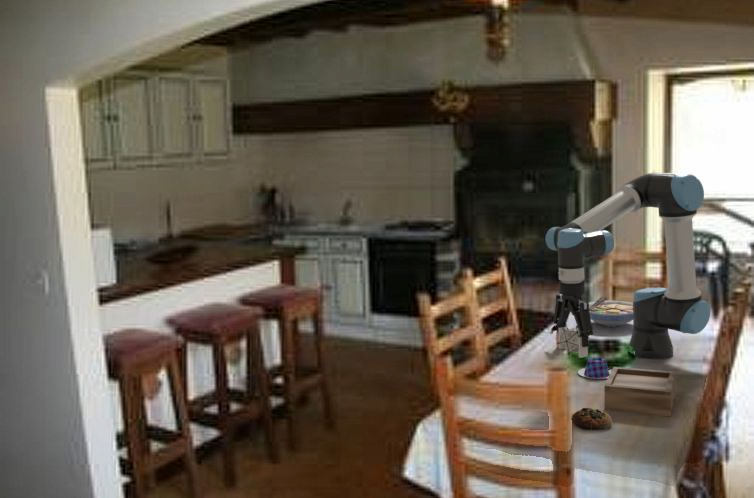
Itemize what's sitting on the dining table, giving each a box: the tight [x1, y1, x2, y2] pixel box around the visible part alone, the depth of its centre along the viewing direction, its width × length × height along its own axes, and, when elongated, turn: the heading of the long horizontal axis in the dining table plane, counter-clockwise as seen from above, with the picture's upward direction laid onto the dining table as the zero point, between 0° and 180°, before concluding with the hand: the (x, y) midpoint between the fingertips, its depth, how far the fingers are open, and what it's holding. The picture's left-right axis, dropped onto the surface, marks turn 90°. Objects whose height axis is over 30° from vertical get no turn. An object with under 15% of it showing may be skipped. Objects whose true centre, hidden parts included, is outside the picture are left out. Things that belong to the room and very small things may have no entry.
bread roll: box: [571, 407, 613, 431], centre depth 216 cm, size 11×11×5 cm
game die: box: [556, 325, 590, 356], centre depth 235 cm, size 9×8×10 cm
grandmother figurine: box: [550, 319, 569, 351], centre depth 285 cm, size 8×4×13 cm, turn 71°
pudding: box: [577, 357, 612, 380], centre depth 255 cm, size 12×12×5 cm
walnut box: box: [603, 366, 676, 417], centre depth 229 cm, size 18×18×7 cm
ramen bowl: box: [588, 296, 633, 327], centre depth 313 cm, size 25×23×8 cm
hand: (573, 352), depth 236 cm, fingers closed on game die, 10 cm apart
